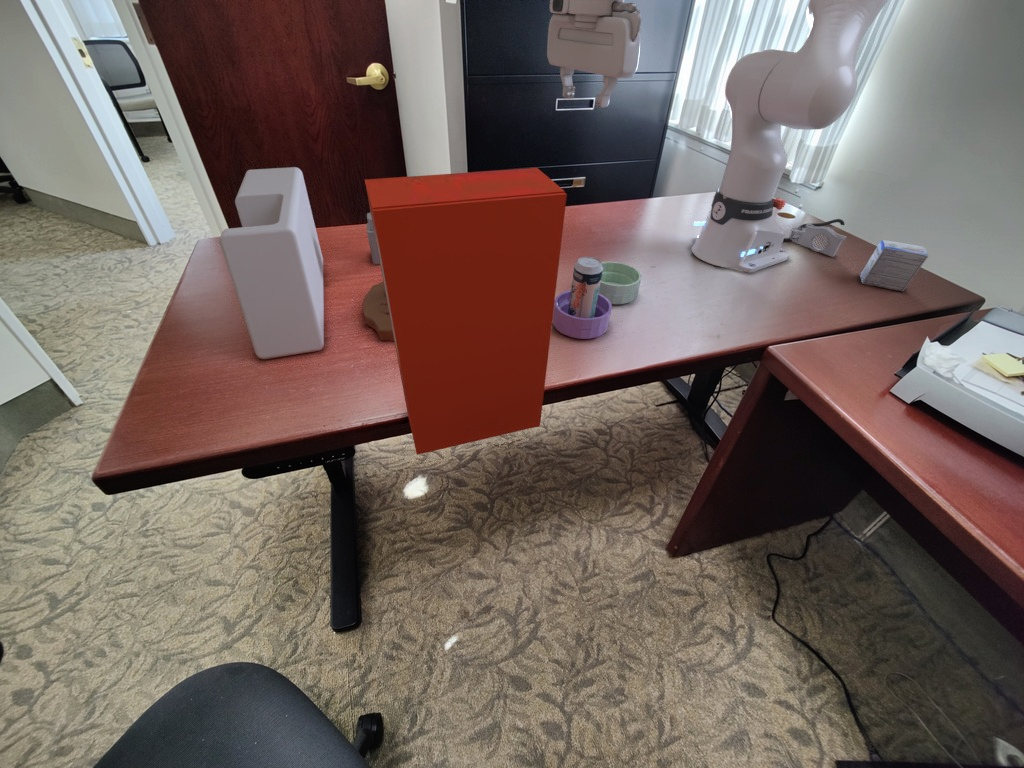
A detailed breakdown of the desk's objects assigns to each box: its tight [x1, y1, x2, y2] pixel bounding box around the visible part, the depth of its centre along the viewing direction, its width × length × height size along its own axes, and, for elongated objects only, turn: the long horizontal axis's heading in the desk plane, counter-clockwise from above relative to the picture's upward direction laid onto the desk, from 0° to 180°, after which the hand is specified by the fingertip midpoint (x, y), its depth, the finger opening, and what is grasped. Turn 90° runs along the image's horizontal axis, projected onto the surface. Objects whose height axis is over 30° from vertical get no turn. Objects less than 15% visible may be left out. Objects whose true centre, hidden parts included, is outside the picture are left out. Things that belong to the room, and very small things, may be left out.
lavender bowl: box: [552, 289, 613, 340], centre depth 79 cm, size 10×10×4 cm
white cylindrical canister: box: [568, 256, 603, 318], centre depth 77 cm, size 5×5×12 cm
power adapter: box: [366, 210, 380, 265], centre depth 94 cm, size 3×5×12 cm, turn 15°
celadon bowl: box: [599, 261, 642, 305], centre depth 88 cm, size 10×10×4 cm
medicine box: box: [859, 239, 929, 293], centre depth 94 cm, size 8×4×9 cm, turn 65°
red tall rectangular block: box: [364, 167, 568, 456], centre depth 51 cm, size 8×17×32 cm, turn 109°
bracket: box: [219, 166, 325, 360], centre depth 79 cm, size 30×10×30 cm, turn 18°
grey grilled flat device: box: [788, 222, 847, 258], centre depth 108 cm, size 12×2×6 cm, turn 34°
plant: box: [362, 281, 394, 342], centre depth 79 cm, size 20×20×11 cm
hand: (584, 101), depth 79 cm, fingers open, 8 cm apart
